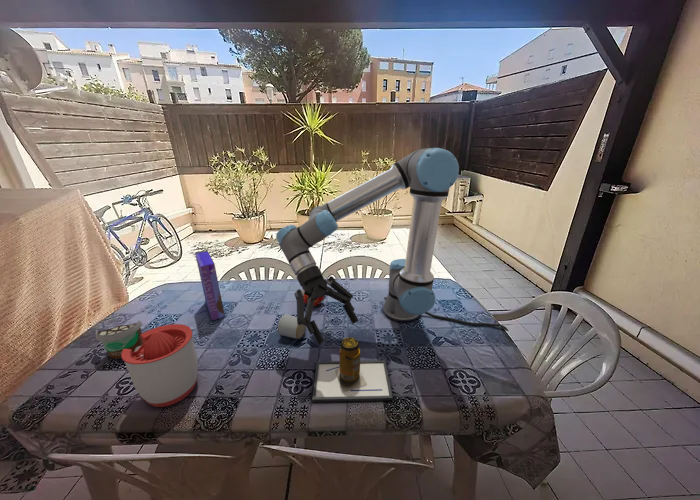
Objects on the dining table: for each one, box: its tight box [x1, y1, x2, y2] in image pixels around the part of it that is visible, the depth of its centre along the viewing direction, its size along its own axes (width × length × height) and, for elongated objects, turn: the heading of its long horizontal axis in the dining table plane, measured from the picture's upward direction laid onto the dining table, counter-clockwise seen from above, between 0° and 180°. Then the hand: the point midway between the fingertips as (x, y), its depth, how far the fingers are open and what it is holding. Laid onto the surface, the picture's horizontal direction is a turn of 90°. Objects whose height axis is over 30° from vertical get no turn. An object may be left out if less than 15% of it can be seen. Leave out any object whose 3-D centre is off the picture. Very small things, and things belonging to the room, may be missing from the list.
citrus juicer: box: [121, 323, 199, 408], centre depth 74 cm, size 16×17×20 cm
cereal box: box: [194, 250, 226, 322], centre depth 112 cm, size 17×5×24 cm, turn 34°
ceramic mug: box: [277, 313, 307, 339], centre depth 100 cm, size 11×8×8 cm
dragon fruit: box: [303, 294, 327, 307], centre depth 119 cm, size 8×8×12 cm
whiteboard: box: [311, 359, 394, 403], centre depth 80 cm, size 22×14×1 cm, turn 91°
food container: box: [95, 319, 143, 360], centre depth 89 cm, size 12×6×10 cm, turn 117°
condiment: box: [335, 337, 367, 391], centre depth 79 cm, size 7×8×12 cm
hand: (339, 332), depth 80 cm, fingers open, 13 cm apart
